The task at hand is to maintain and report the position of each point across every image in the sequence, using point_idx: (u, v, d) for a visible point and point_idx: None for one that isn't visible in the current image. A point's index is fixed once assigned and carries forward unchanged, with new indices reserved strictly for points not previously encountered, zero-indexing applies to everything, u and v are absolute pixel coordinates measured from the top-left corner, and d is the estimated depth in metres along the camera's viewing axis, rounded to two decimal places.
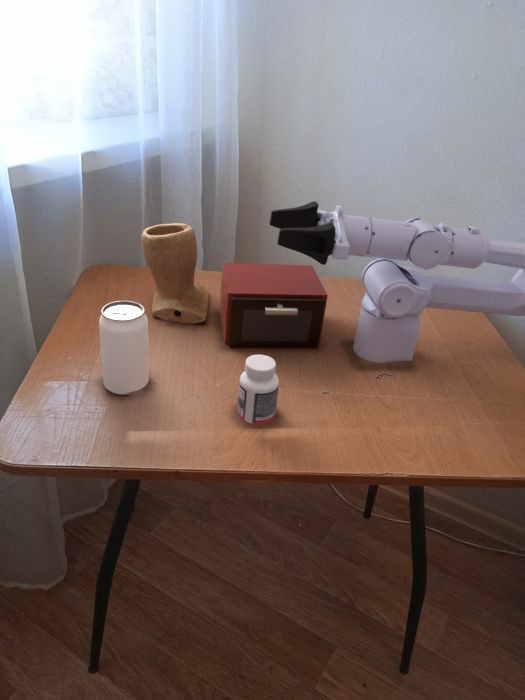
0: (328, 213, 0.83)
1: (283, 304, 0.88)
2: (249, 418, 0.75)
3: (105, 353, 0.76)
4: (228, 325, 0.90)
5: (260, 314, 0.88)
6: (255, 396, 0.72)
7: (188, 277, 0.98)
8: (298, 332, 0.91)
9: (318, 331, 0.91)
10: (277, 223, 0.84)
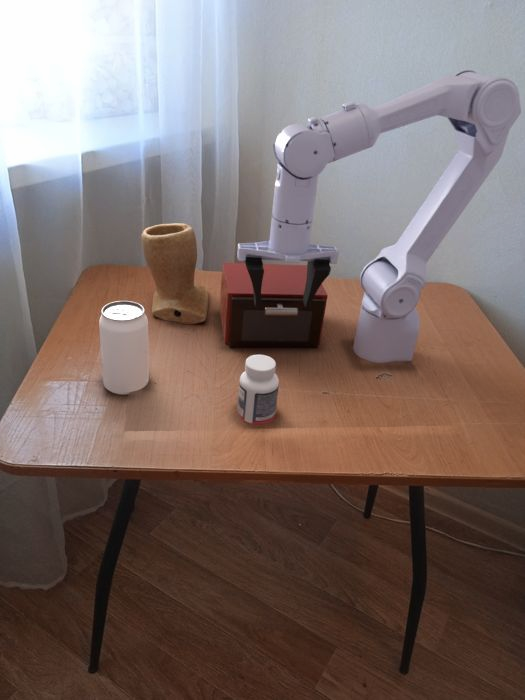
0: (268, 257, 0.79)
1: (283, 304, 0.88)
2: (249, 418, 0.75)
3: (105, 353, 0.76)
4: (228, 325, 0.90)
5: (260, 314, 0.88)
6: (255, 396, 0.72)
7: (188, 277, 0.98)
8: (298, 332, 0.91)
9: (318, 331, 0.91)
10: None
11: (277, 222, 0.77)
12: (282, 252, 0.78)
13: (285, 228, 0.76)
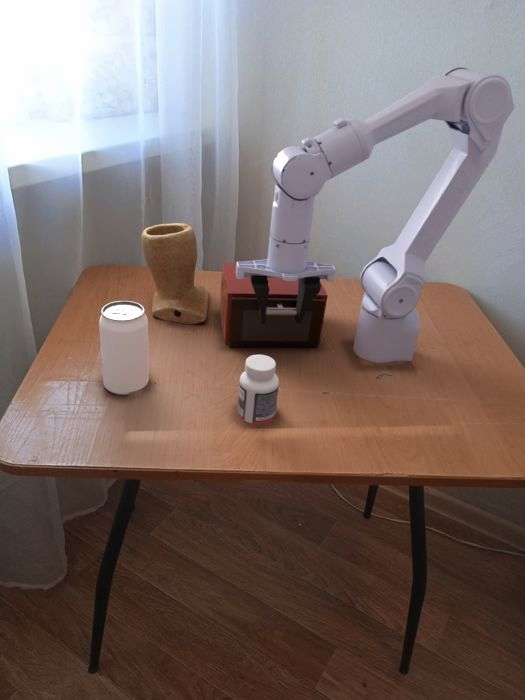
0: (266, 275, 0.80)
1: (283, 304, 0.88)
2: (249, 418, 0.75)
3: (105, 353, 0.76)
4: (228, 325, 0.90)
5: None
6: (255, 396, 0.72)
7: (188, 277, 0.98)
8: (298, 332, 0.91)
9: (318, 331, 0.91)
10: None
11: (275, 242, 0.78)
12: (280, 271, 0.80)
13: (283, 247, 0.78)
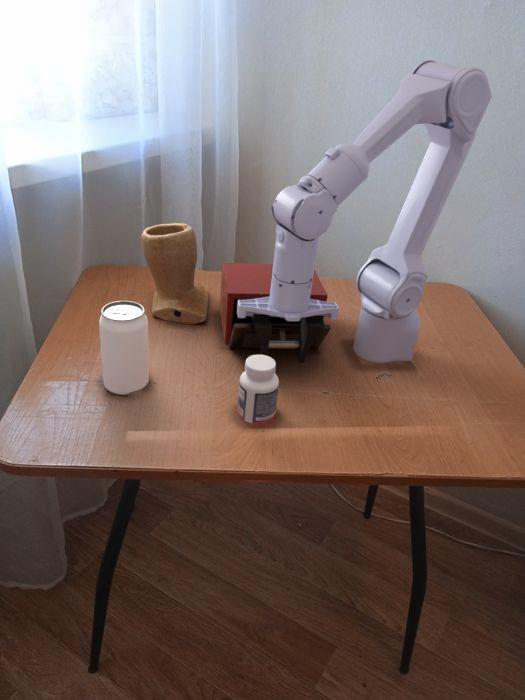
0: (268, 314, 0.78)
1: (286, 330, 0.85)
2: (249, 418, 0.75)
3: (105, 353, 0.76)
4: (228, 325, 0.90)
5: None
6: (255, 396, 0.72)
7: (188, 277, 0.98)
8: None
9: (319, 343, 0.90)
10: None
11: (278, 281, 0.76)
12: (282, 310, 0.78)
13: (285, 287, 0.76)
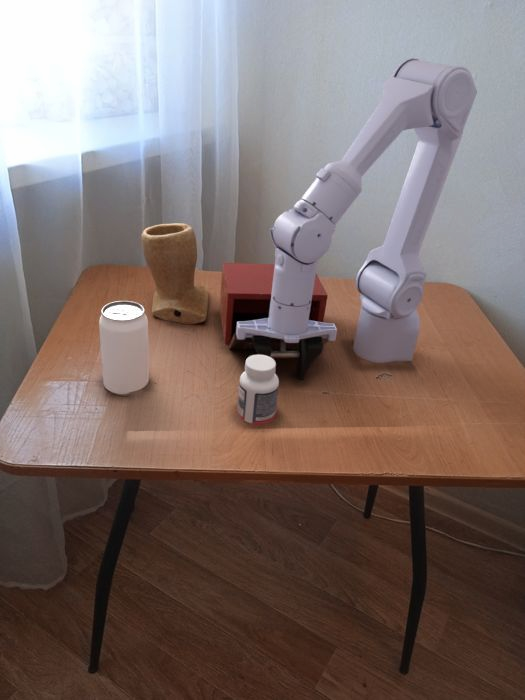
0: (267, 336, 0.79)
1: None
2: (249, 418, 0.75)
3: (105, 353, 0.76)
4: (228, 325, 0.90)
5: None
6: (255, 396, 0.72)
7: (188, 277, 0.98)
8: None
9: None
10: None
11: (277, 303, 0.77)
12: (281, 332, 0.78)
13: (285, 310, 0.77)
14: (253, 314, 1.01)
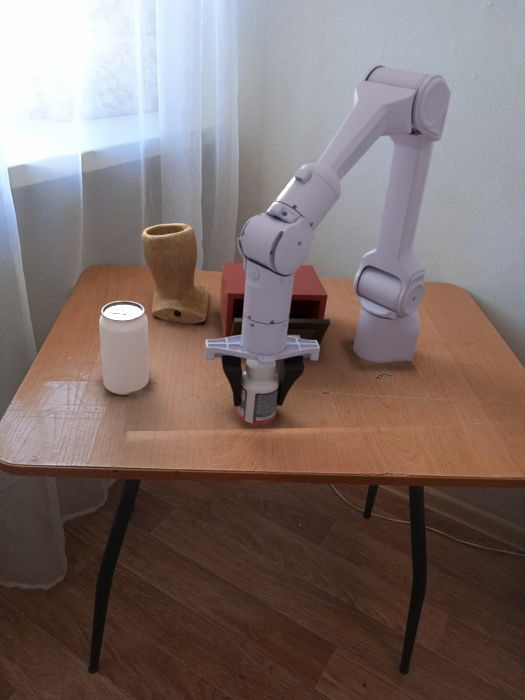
0: (239, 356, 0.70)
1: None
2: (249, 418, 0.75)
3: (105, 353, 0.76)
4: (228, 325, 0.90)
5: None
6: (256, 396, 0.72)
7: (188, 277, 0.98)
8: None
9: (319, 340, 0.91)
10: None
11: (249, 320, 0.67)
12: (255, 352, 0.69)
13: (257, 328, 0.67)
14: None
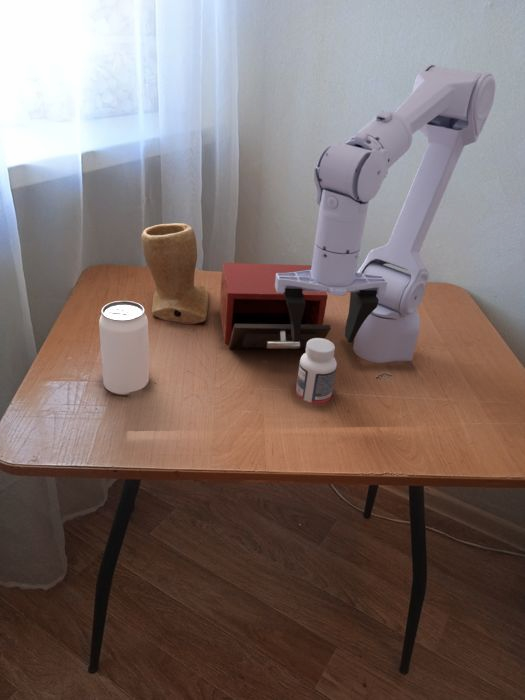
0: (310, 288, 0.71)
1: (286, 330, 0.85)
2: (309, 397, 0.80)
3: (105, 353, 0.76)
4: (228, 325, 0.90)
5: (262, 335, 0.86)
6: (316, 376, 0.78)
7: (188, 277, 0.98)
8: (299, 343, 0.90)
9: None
10: None
11: (322, 251, 0.69)
12: (326, 284, 0.70)
13: (331, 258, 0.68)
14: (253, 314, 1.01)
